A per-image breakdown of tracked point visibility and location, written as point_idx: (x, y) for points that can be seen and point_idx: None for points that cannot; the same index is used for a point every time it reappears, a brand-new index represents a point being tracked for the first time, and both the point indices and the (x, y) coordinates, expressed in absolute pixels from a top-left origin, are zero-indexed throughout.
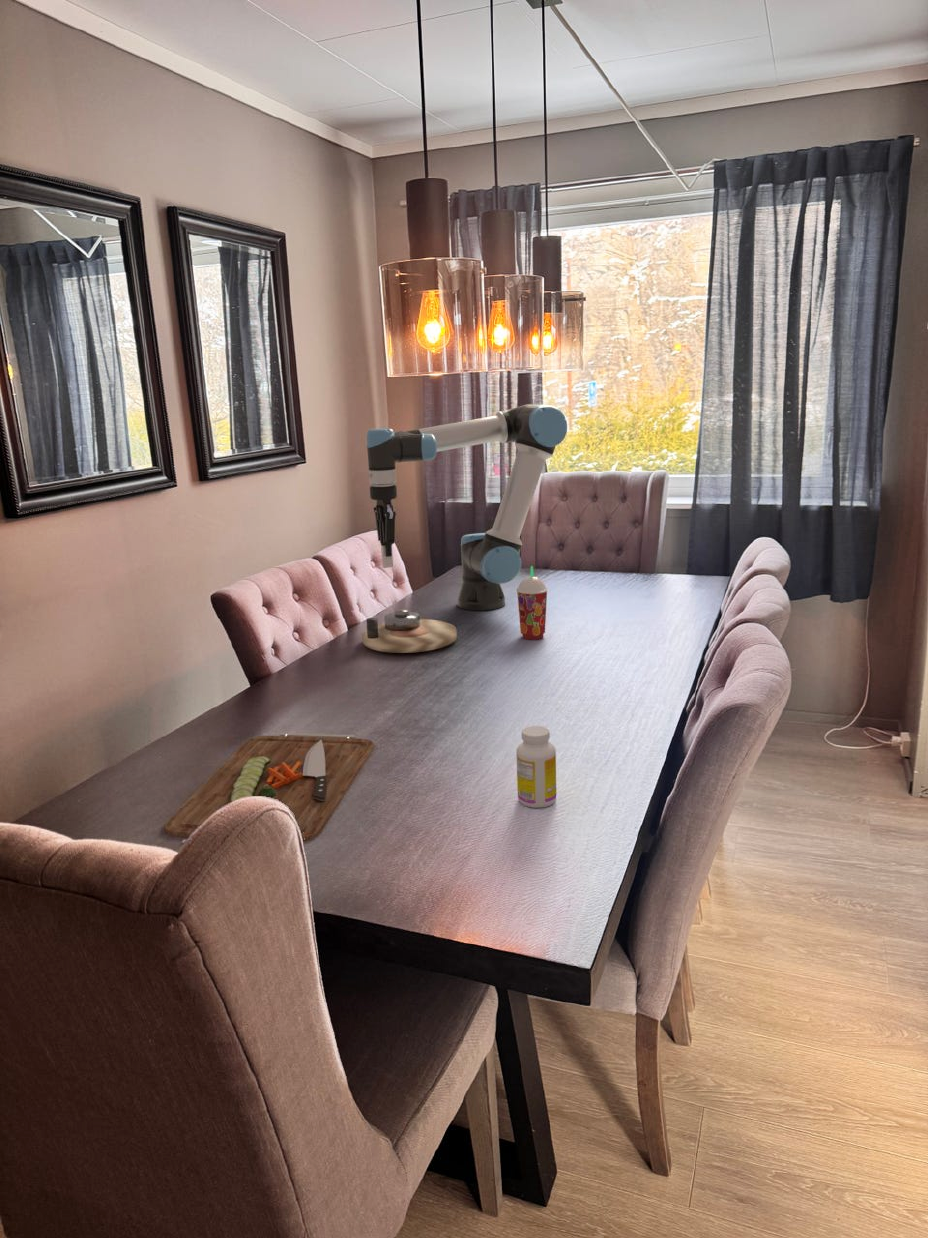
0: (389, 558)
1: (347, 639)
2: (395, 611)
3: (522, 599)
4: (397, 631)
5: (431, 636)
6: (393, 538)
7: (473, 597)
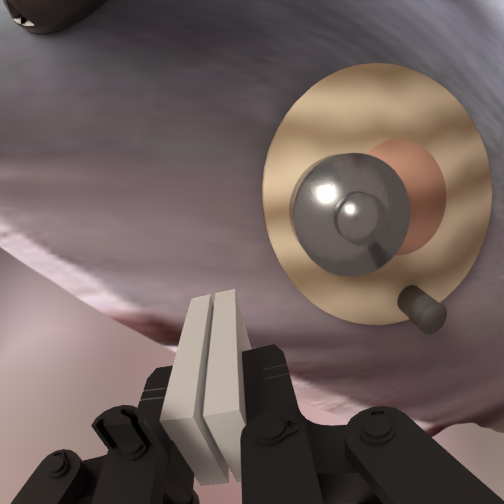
0: (243, 346)
1: (302, 347)
2: (365, 242)
3: None
4: None
5: (454, 150)
6: (440, 459)
7: None
